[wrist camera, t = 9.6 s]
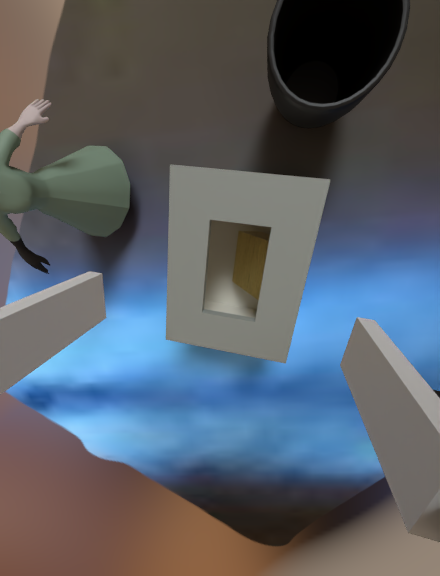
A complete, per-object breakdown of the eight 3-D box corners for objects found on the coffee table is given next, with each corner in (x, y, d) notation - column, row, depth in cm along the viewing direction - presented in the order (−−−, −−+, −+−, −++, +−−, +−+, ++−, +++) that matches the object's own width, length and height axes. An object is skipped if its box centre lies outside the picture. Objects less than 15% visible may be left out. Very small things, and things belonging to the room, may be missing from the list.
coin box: (202, 176, 28) (170, 164, 19) (308, 187, 26) (330, 179, 17) (193, 301, 34) (165, 339, 24) (280, 316, 32) (285, 363, 23)
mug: (407, 18, 21) (511, -119, 12) (319, 157, 25) (347, 134, 16) (325, -32, 21) (368, -207, 12) (252, 117, 25) (243, 73, 16)
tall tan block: (238, 230, 27) (271, 241, 22) (260, 231, 28) (296, 242, 23) (232, 281, 29) (260, 301, 24) (252, 279, 30) (283, 299, 25)
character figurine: (125, 268, 34) (-12, 333, 17) (73, 244, 34) (-111, 286, 18) (155, 148, 28) (-11, 71, 11) (92, 120, 28) (-163, 4, 11)
